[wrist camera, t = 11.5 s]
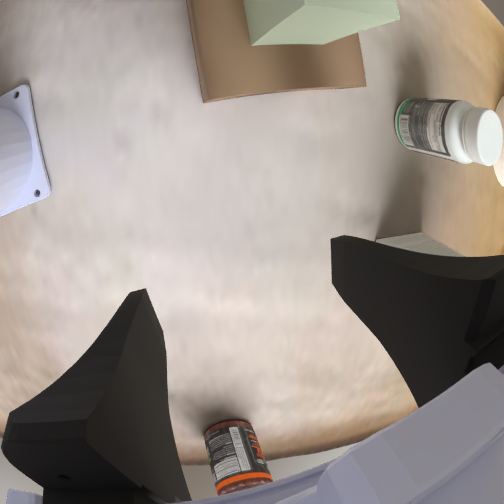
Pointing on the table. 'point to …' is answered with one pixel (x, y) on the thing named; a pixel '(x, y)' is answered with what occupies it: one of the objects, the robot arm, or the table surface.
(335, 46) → the walnut base
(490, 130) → the pill bottle
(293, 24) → the sage block
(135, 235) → the table surface
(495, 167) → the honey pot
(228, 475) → the supplement bottle
